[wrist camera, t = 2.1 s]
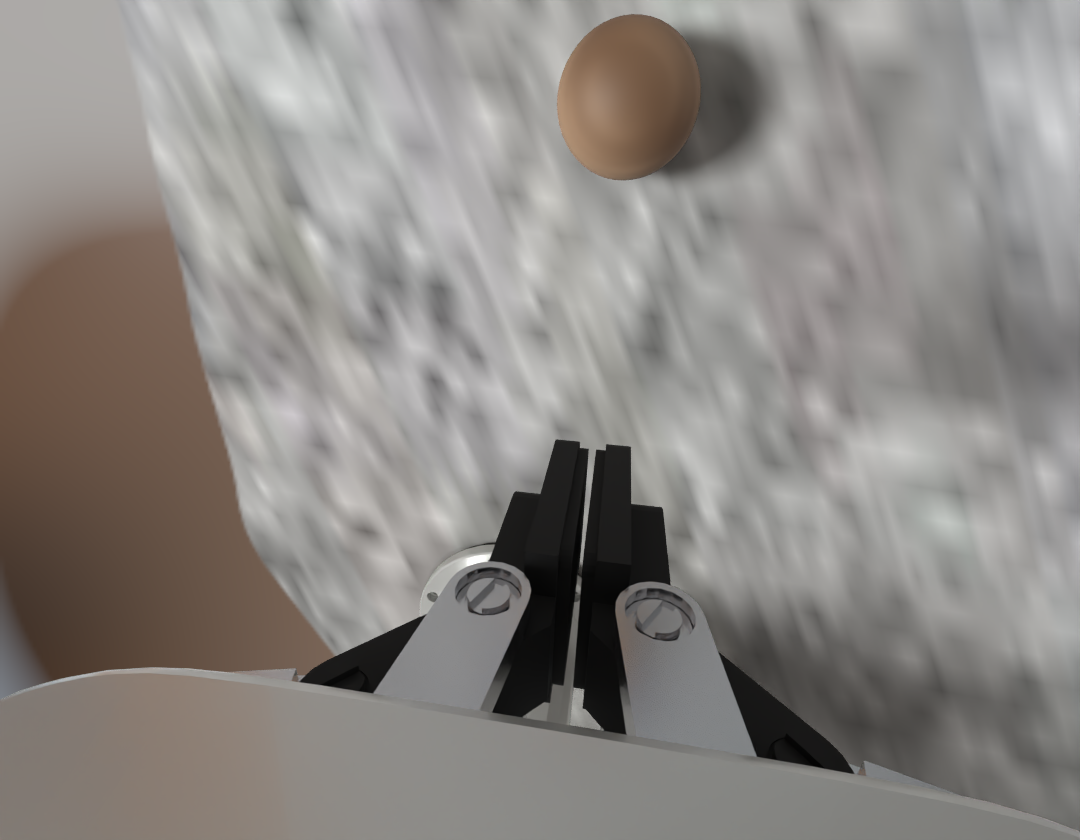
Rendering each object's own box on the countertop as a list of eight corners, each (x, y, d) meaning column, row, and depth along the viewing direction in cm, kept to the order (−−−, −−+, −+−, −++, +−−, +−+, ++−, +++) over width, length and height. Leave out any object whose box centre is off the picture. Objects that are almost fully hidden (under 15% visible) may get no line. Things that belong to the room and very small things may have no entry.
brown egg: (611, 206, 25) (608, 212, 20) (540, 101, 23) (516, 79, 18) (717, 121, 23) (742, 105, 18) (645, 1, 21) (650, -53, 16)
